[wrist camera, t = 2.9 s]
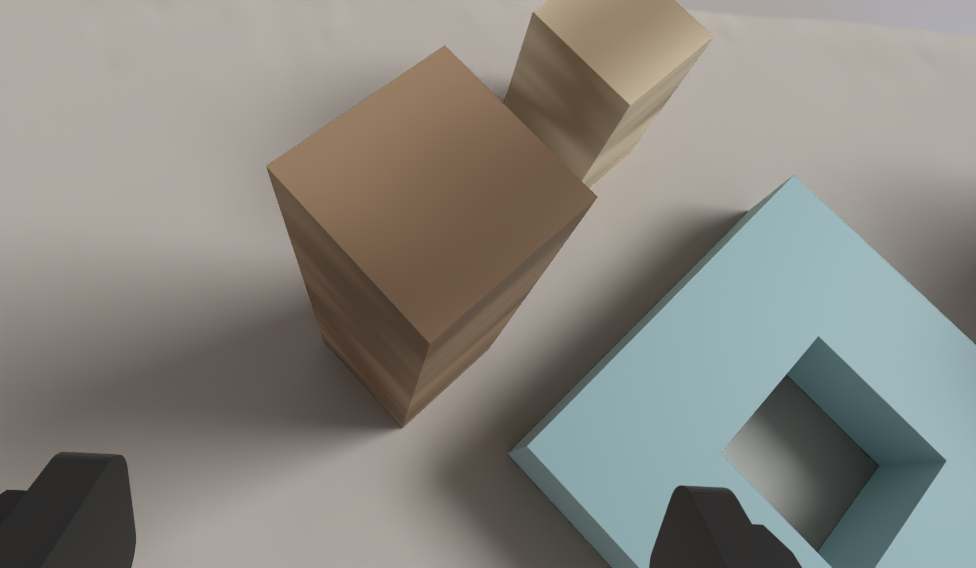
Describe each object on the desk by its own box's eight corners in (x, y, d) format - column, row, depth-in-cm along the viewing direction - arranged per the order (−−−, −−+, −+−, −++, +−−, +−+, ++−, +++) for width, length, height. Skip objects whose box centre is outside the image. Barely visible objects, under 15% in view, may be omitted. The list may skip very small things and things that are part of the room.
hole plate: (507, 453, 22) (526, 446, 19) (749, 210, 26) (794, 174, 23) (822, 797, 20) (895, 845, 17) (1022, 470, 24) (1105, 466, 22)
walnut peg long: (323, 339, 22) (266, 166, 11) (412, 267, 23) (444, 45, 12) (402, 427, 21) (430, 344, 10) (488, 349, 23) (597, 196, 11)
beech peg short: (492, 138, 25) (533, 11, 19) (561, 85, 27) (621, -50, 20) (563, 209, 25) (630, 105, 18) (629, 152, 26) (713, 36, 20)
